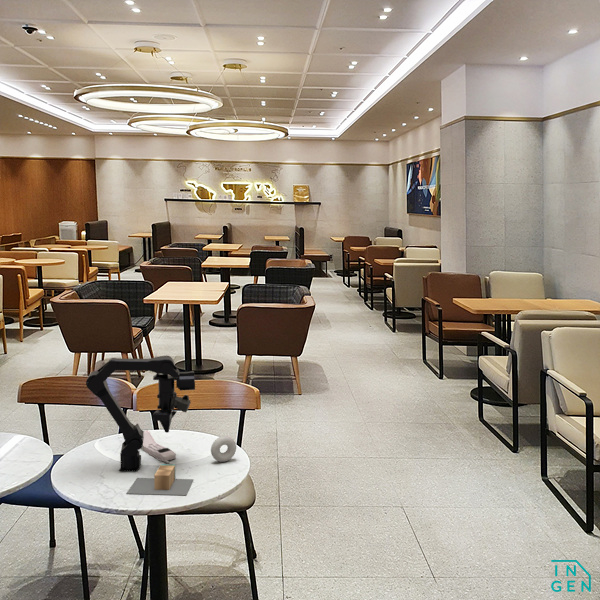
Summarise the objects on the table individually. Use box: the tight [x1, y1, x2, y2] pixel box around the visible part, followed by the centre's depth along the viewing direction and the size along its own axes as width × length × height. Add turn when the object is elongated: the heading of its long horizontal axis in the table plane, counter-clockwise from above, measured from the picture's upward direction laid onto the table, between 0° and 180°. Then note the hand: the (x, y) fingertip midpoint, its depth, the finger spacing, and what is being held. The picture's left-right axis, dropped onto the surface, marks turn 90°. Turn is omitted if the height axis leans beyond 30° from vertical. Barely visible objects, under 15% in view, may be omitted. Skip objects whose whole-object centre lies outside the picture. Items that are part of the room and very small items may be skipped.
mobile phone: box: [142, 429, 177, 464], centre depth 258 cm, size 6×6×25 cm
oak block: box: [153, 463, 177, 490], centre depth 229 cm, size 5×5×10 cm
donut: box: [210, 435, 237, 463], centre depth 251 cm, size 10×4×10 cm, turn 117°
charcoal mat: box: [126, 477, 194, 497], centre depth 228 cm, size 20×13×1 cm, turn 88°
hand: (167, 432), depth 244 cm, fingers closed
